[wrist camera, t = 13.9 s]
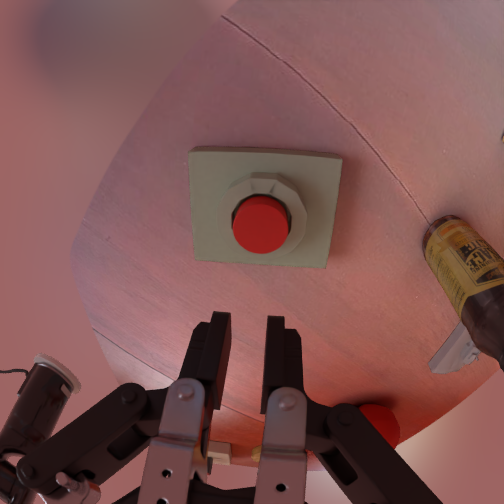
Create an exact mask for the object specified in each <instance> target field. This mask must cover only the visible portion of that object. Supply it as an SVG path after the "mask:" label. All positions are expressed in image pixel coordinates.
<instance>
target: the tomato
mask: <svg viewBox="0 0 504 504" xmlns="http://www.w3.org/2000/svg"><path fill="white" fill-rule="evenodd" d="M358 409H359V410H360V411H361V412H362V413H363V414H364V415H365V417H366V418H367V419H368V420H369V421H370V422H371V423H372V425H373V426H374V427H375V428H376V429H377V430H378V431H379V433H380V434H381V435H382V436H383V437H384V438H385V439H386V441H387V442H388V443H389V444H390V445H391V446H392V447H393V449H395V448H396V446H397V444H398V441H399V438H400V427H399V424H398V422H397V420H396V418H395V416H394V414H393V412H392V411H391V410H390V409H388V408H387V407H384V406H380V405H377V404H364V405H362V406H360V407H358Z"/></svg>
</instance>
